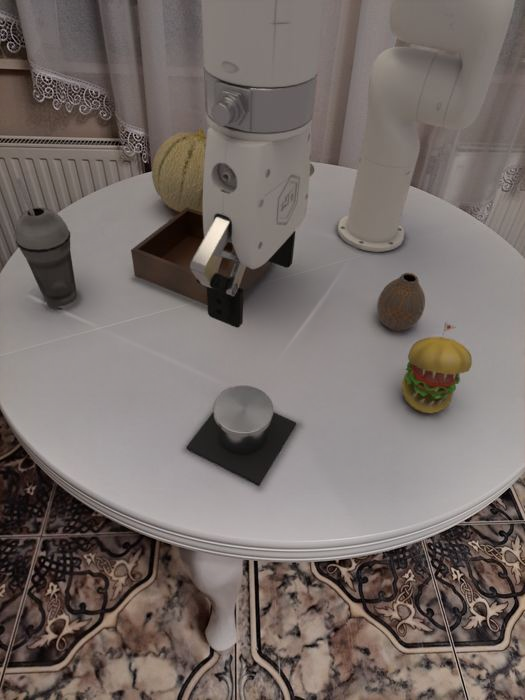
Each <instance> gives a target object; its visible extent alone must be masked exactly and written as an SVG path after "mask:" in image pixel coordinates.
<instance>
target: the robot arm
mask: <svg viewBox="0 0 525 700" xmlns="http://www.w3.org/2000/svg"><path fill="white" fill-rule="evenodd" d="M326 2H327V0H201V24H202V25H201V26H202V27H201V28H202V31H201V32H202V55H203V57H202V59H203V82H204V85H203V86H204V87H203V88H204V109H205V110H204V111H205V120H206V123H207V124H208V127H207V131H206V137H207V139H206V147H205V159H204V175H203V230H204V239H203V241H202V243H201V245H200V246H199V248H198V250H197V252H196V254H195V255H194V257H193V259H192V261H191V263H190V269H191V271H192V272H193V274H194V275H195V277H196V278H197V282H198V283H200V284H202V285H205V286H207V304H208V305H207V314H208V317H210V318H212V319H214V320H217V321H219V322H221V323H224V324H227V325H229V326H231V327H234V328H236V329H238V328H240V327H241V325H243V323H244V322H243V321H244V295H243V290H242V289H241V288H239V285H240V283H241V280H242V277H243V274H244V271H245V268H246V267H249V268H250V269H256V268H258V267H260V266H262V265H263V264H265V263H266V262H267V261H269V262H271V263H272V264H274V265H277V266H280V267H283V268H286V269H287V268H290V267H291V265H292V264H293V261H294V260H293V258H294V249H295V240H296V230H297V229H298V228H299V226H300V225H301V224H302V223H303V221H304V220H305V217H306V214H307V210H308V200H309V191H310V190H309V189H310V178H311V176H310V163H311V160H312V159H311V157H312V125H313V117H314V107H315V98H316V90H317V83H318V81H317V80H318V72H319V63H320V52H321V44H322V35H323V26H324V17H325V11H326V10H325V9H326ZM515 2H516V0H390V9H389V29H390V32H391V34H392V35H393V36H394V37H395V38H396V39H397V40H399V41H401V42H404V43H407V44H410V45H415V46H419V47H424V48H429V49H434V50H435V49H436V50H439V51H445V52H451V53H456V54H458V55H459V56H457V55H452V54H446V53H441V52H438V51H433V50H428V49H423V48H417V47H411V46H393V47H389V48H387V49H385V50H383V51H381V53H380V54H379V55H378V56H377V57H376V58H375V60H374V61H373V63H372V66H371V69H370V73H369V77H368V91H367V92H368V93H367V97H368V98H367V110H366V111H367V112H366V122H365V130H364V135H363V139H362V144H361V145H362V146H361V150H360V155H359V160H358V165H357V171H356V175H355V180H354V185H353V191H352V195H351V200H350V206H349V211H348V213H347V214H346V215H344V216H342V217H341V219H340V220H339V221H338V224H337V233H338V235H339V237H340V238H341V239H342V241H344V242H345V243H347V244H348V245H349V246H351V247H353V248H355V249H358V250H362V251H365V252H374V253H381V252H389V251H391V250H395V249H397V248H399V247H400V246H401V245H402V243H403V241H404V238H405V235H406V234H405V229H404V228H403V226H402V225H401V223H400V222H401V218H402V215H403V212H404V207H405V205H406V201H407V197H408V193H409V190H410V187H411V183H412V179H413V175H414V172H415V169H416V165H417V161H418V159H419V155H420V149H421V140H420V136H419V132H418V129H417V127H416V123H421V124H426V125H430V126H433V127H434V126H435V127H439V128H443V129H447V130H454V131H456V130H457V131H460V130H465V129H467V128H469V127H470V126H471V125H472V124H473V123H474V122H475V121H476V119H477V118H478V116H479V114H480V112H481V110H482V108H483V105H484V102H485V99H486V97H487V94H488V91H489V89H490V85H491V81H492V79H493V75H494V72H495V69H496V67H497V63H498V61H499V57H500V54H501V51H502V48H503V45H504V42H505V40H506V35H507V32H508V29H509V26H510V22H511V20H512V16H513V12H514V8H515ZM227 242H230V243H232V244H233V247H234V249H235V252H236V254H234V253H232V252H229V251H226V250H224V248H225V246H226V244H227ZM222 257H223V258H225V259H228V260H231V261H234V262H235V264H234V267H233V270H232V272H231V275H230V278H227V277H225V276H223V275H220V274H218V269H219V266H220V263H221V260H222Z"/></svg>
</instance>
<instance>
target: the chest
mask: <svg viewBox="0 0 525 700" xmlns="http://www.w3.org/2000/svg"><path fill="white" fill-rule="evenodd" d="M203 239H204V230H203V213H202V212H199V211H196V210H193V209H190V208H185V209H184V210H183V211H181V212H178V213H177V214H176V215H175V216H174V217H172V218H171V219H169V220H168V221H167V222H165V223H164V224H163V225H162V226H160V227H159V228H158V229H156V230H155V231H154V232H153V233H151V234H150V235H148V236H147V237H146V238H144V239H143V240H142V241H141V242H139V243H138V244H136V245H135V246H134V247H133V248H131V249H130V253H131V260H132V267H133V273H134V276H135V277H136V278H139V279H142V280H144V281H146V282H149V283H151V284H154V285H157V286H159V287H161V288H164V289H166V290H168V291H171V292H174V293H176V294H179V295H181V296H184V297H186V298H188V299H191V300H194V301H196V302H198V303H201V304H203V305H206V306H208V304H207V286H205V285H202V284H200V283H198V282H197V278H196V277H195V275H194V274H193V272H192V271H191V269H190V263H191V261H192V259H193V257H194V255H195V254H196V252H197V250H198V248H199V246H200V245H201V243H202V241H203ZM232 248H233V244H232V243H230V242H227V244H226V246H225V248H224V250H226V251H229V252H232ZM229 262H230V260H228V259H225V258H223V257H222V260H221V263H220V266H219V269H218V274H220V275H223V276H225V277H226V276H227V271H228V267H229ZM272 264H273V263H271V262H269V261H267V262H266V263H265V264H263V265H262V266H260V267H258V268H256V269H250V268H249V267H247V268H246V269H245V271H244V274H243V277H242V280H241V283H240V285H239V288H241V289H242V290H243V296H244V295H245V294H246V293H247V291H249V289H250V288H251V287H252V286H253V285H254V284H255V283H256V282H257V281H258V280H259V278H261V276H262V275H263V274H264V273H265V272H266V271H267V270H268V269H269V267H271V265H272Z"/></svg>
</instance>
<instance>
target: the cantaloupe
mask: <svg viewBox="0 0 525 700" xmlns="http://www.w3.org/2000/svg"><path fill="white" fill-rule="evenodd" d="M197 129H198V130H197V132H198V133H197V132H185V131H183V132H179V133H176V134H173V135H172V136H170V137H168V138H167V139H166V140H165V141H164V142H163V143H162V144H161V145H159V147H158V149H157V151H156V153H155V156H154V157H153V158H154V159H153V161H152V166H151V178H152V183H153V187H154V190H155V191H156V193H157V195H158V196H159V197H160V199H161V200H162V202H163V203H164V204H165V205H167V207H169V208H170V209H171V210H174V211H175V212H178V213H180V212H181V211H183V210H184V209H185V208H190V209H193V210H196V211H199V212H202V213H203V175H204V159H205V147H206V139H207V135H204V130H203V129H202V128H201V127H198V128H197Z"/></svg>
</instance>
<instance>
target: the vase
mask: <svg viewBox="0 0 525 700" xmlns="http://www.w3.org/2000/svg"><path fill="white" fill-rule="evenodd" d="M419 282H420V281H419V278H418V276H417V275H416V274H414V273H411V272H404V273H402V274H401V275H400V276H399V277H398V278H396V279H394V280H391V281H390V282H389V283H387V284H386V285H385V286H384V288H383V289H382V291H381V293H379V296H378V299H377V305H376V311H377V315H378V318H379V320H380V322H381V323H382V324H383V325H384V326H385V327H387V328H388V329H390V330H393V331H405V330H408V329H410V328H412V327H414V326H415V325H416V324H417V323H418V322H419V320H420V319H421V318H422V315H423V313H424V311H425V308H426V296H425V292H424V290H423V287H422V286H421V285H420V283H419Z"/></svg>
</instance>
